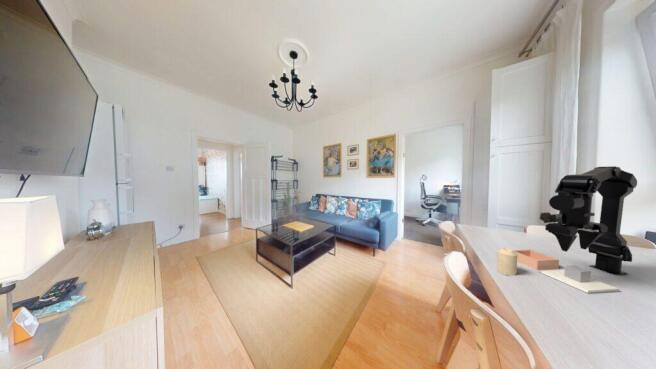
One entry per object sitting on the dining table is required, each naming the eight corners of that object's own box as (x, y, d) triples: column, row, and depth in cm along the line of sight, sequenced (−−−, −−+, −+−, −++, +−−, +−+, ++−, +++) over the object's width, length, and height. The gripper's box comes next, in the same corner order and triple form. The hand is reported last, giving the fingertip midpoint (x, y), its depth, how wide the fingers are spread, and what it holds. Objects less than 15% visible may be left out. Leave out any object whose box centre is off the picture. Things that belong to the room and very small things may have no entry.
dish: (529, 258, 83) (529, 249, 83) (558, 270, 73) (559, 259, 73) (510, 259, 82) (510, 250, 82) (536, 271, 72) (537, 260, 72)
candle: (520, 277, 68) (521, 252, 67) (503, 276, 69) (505, 251, 68) (508, 270, 73) (510, 246, 73) (493, 268, 74) (494, 245, 74)
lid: (567, 271, 71) (568, 259, 71) (618, 290, 59) (619, 277, 59) (541, 272, 70) (542, 261, 70) (587, 292, 58) (588, 279, 58)
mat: (566, 271, 72) (566, 270, 72) (622, 293, 59) (622, 291, 59) (538, 273, 71) (538, 272, 71) (588, 295, 58) (588, 294, 58)
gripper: (564, 204, 73) (561, 240, 74) (528, 206, 71) (526, 243, 72) (610, 209, 62) (606, 251, 63) (570, 212, 60) (567, 256, 61)
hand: (573, 250), depth 65 cm, fingers open, 9 cm apart
